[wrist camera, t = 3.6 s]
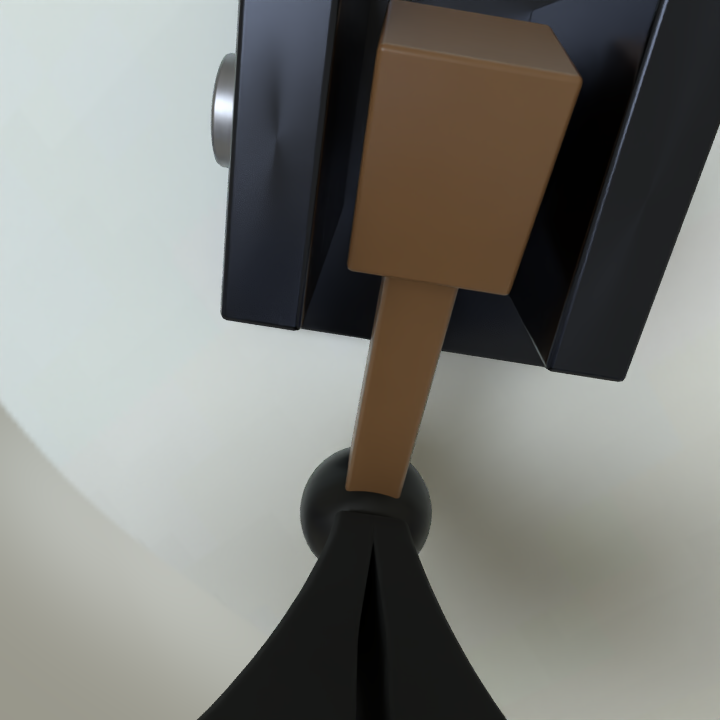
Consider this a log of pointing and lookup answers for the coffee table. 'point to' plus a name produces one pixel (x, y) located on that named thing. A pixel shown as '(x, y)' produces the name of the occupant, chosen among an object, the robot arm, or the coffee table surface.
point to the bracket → (559, 205)
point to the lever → (437, 224)
